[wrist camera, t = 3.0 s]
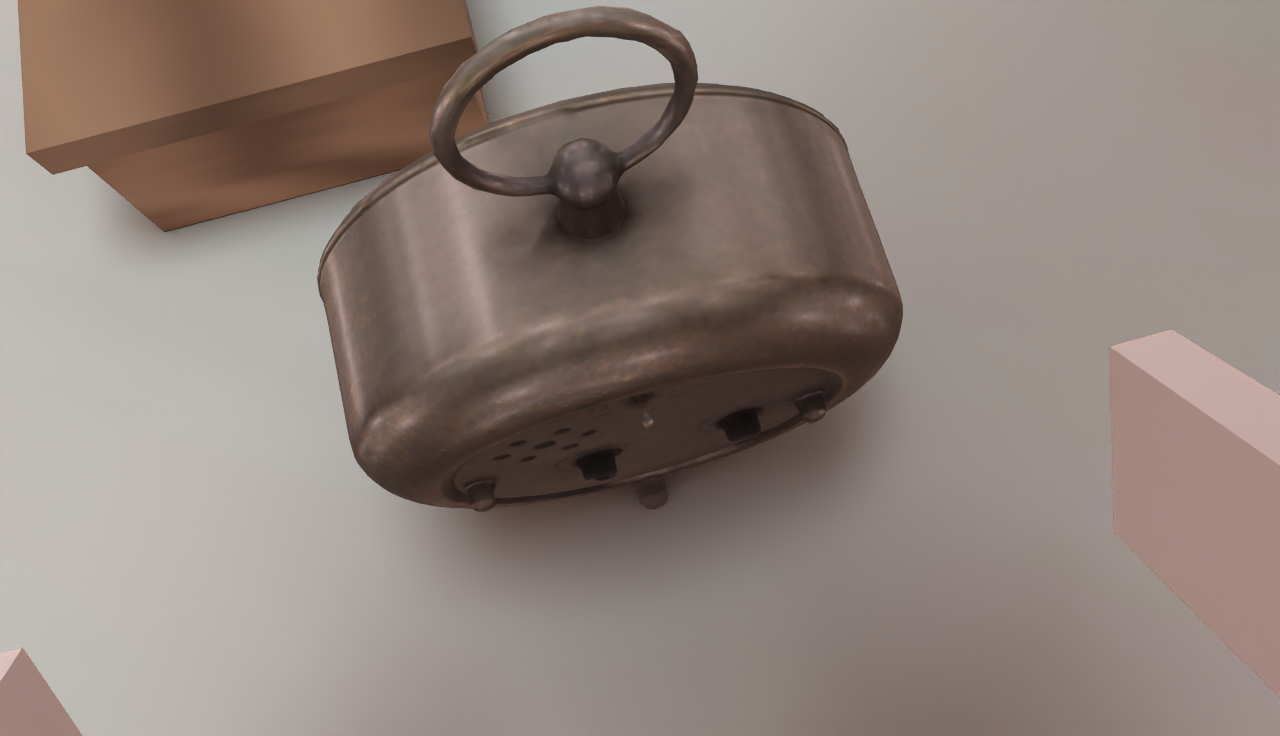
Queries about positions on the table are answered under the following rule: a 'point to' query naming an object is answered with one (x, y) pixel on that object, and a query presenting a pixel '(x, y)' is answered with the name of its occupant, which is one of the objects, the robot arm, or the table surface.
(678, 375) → the alarm clock
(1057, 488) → the table surface
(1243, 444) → the robot arm
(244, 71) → the walnut stand
